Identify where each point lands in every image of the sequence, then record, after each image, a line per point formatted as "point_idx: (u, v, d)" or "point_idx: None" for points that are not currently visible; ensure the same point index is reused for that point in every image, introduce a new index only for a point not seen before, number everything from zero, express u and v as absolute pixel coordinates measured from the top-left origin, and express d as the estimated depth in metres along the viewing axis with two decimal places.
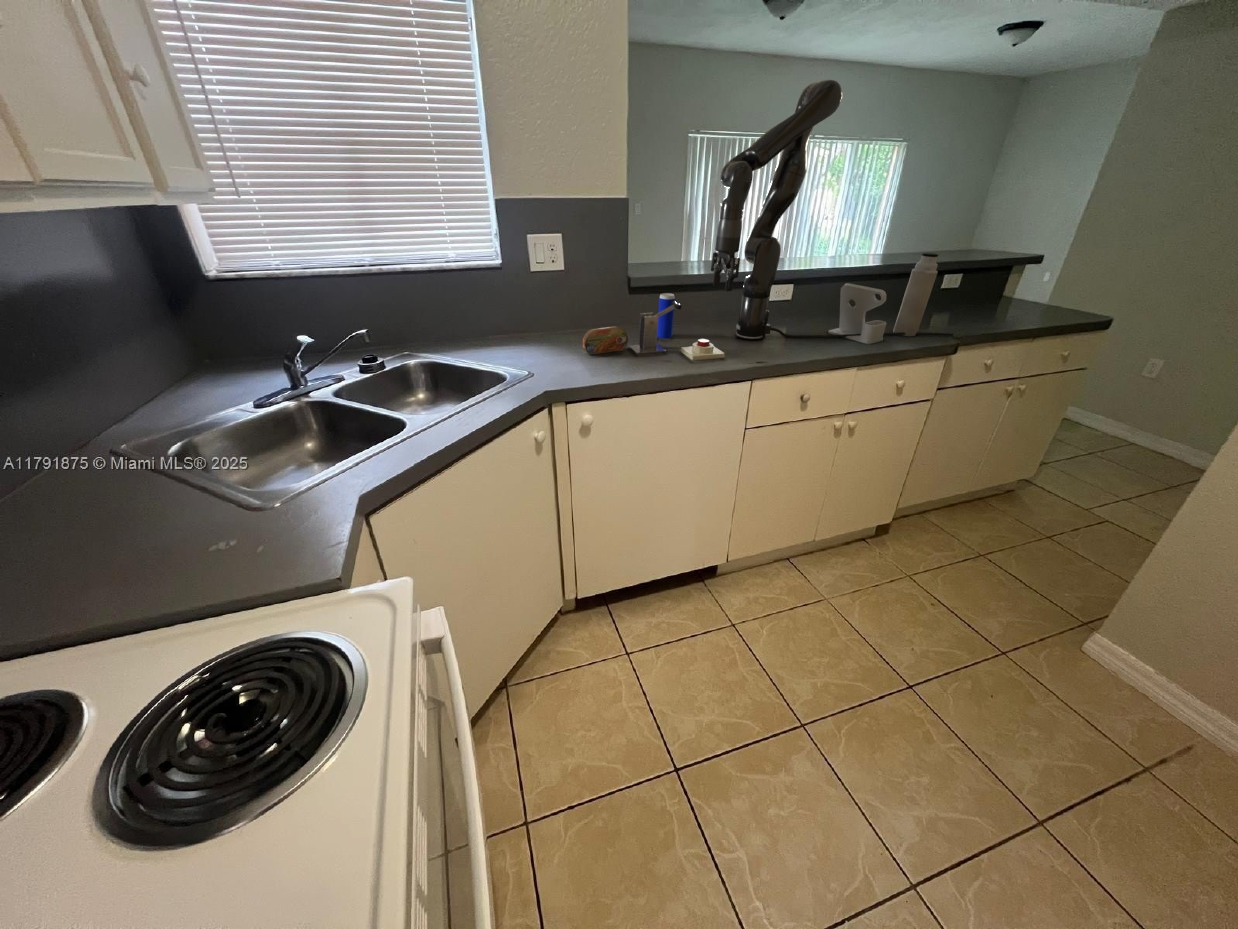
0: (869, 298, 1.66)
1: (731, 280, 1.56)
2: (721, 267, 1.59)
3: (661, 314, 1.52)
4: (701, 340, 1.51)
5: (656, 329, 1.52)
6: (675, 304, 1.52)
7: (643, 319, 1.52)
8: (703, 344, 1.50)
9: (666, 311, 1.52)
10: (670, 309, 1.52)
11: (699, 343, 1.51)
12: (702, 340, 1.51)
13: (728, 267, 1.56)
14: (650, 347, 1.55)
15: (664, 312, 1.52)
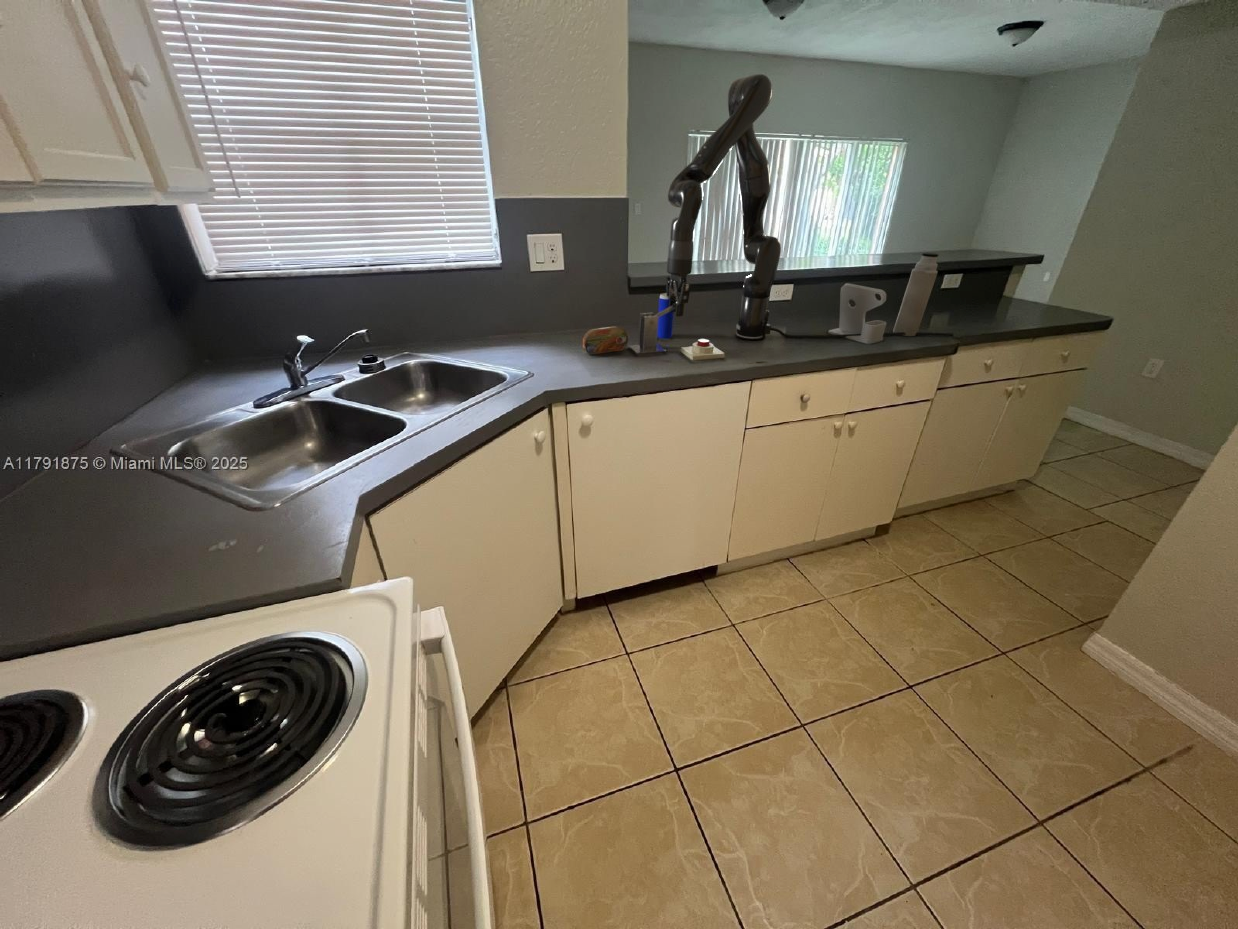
0: (869, 298, 1.66)
1: (681, 305, 1.49)
2: (674, 289, 1.50)
3: (661, 314, 1.52)
4: (701, 340, 1.51)
5: (656, 329, 1.52)
6: (675, 304, 1.52)
7: (643, 319, 1.52)
8: (703, 344, 1.50)
9: (666, 311, 1.52)
10: (670, 309, 1.52)
11: (699, 343, 1.51)
12: (702, 340, 1.51)
13: (680, 290, 1.48)
14: (650, 347, 1.55)
15: (664, 312, 1.52)
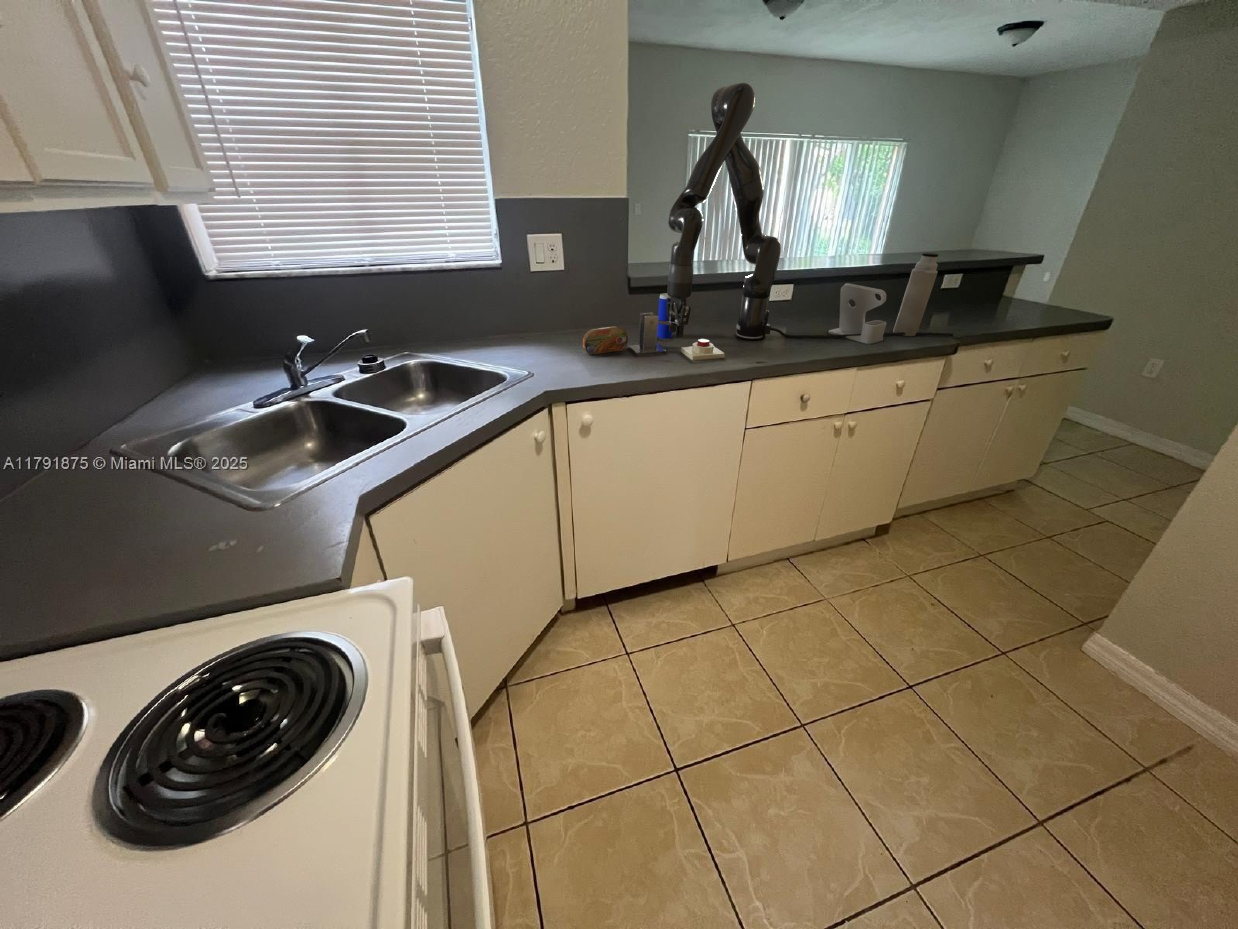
0: (869, 298, 1.66)
1: (681, 327, 1.53)
2: (674, 311, 1.54)
3: (661, 322, 1.54)
4: (701, 340, 1.51)
5: (656, 329, 1.52)
6: None
7: None
8: (703, 344, 1.50)
9: (667, 323, 1.54)
10: (671, 323, 1.55)
11: (699, 343, 1.51)
12: (702, 340, 1.51)
13: (680, 312, 1.52)
14: (650, 347, 1.55)
15: (665, 322, 1.54)
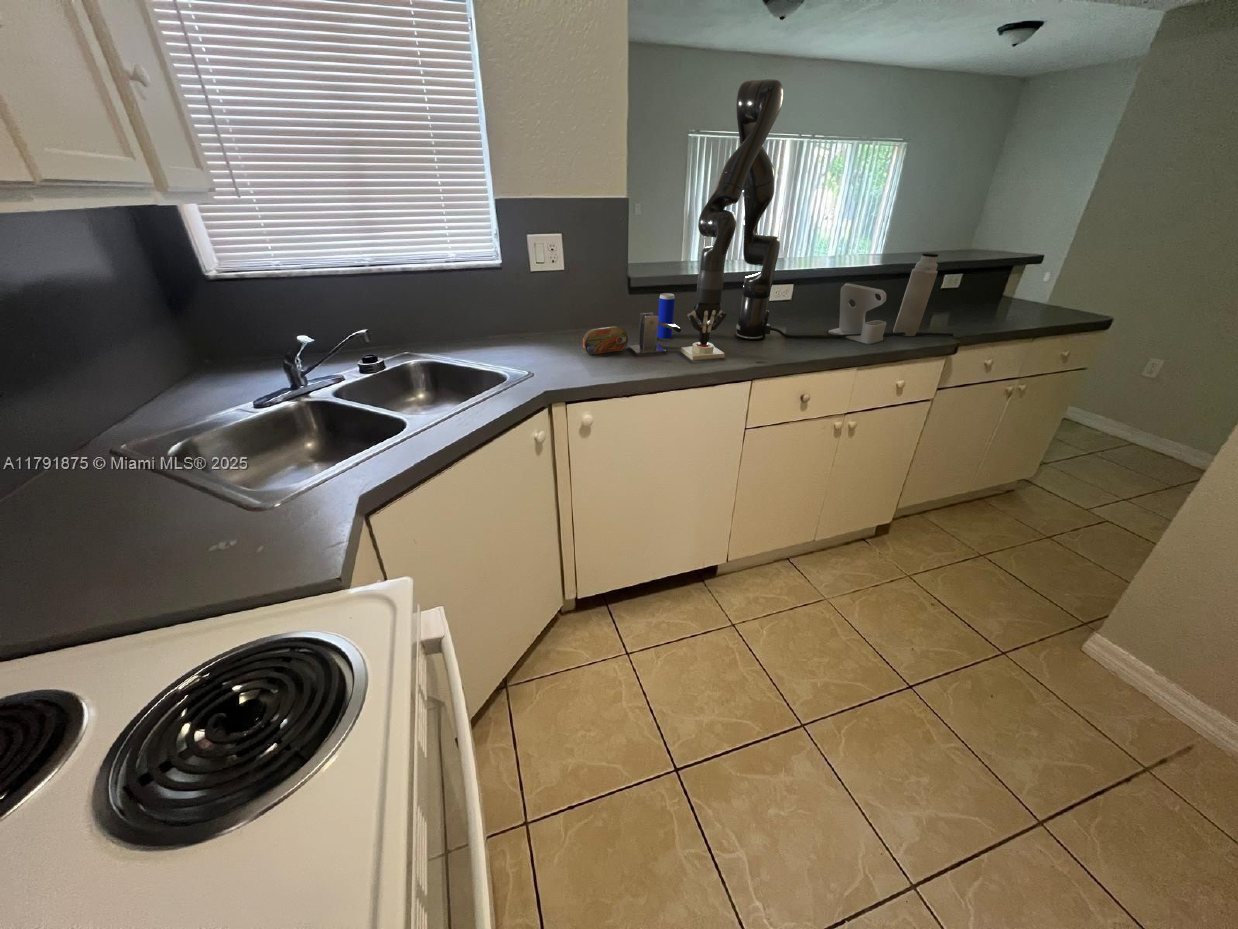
0: (869, 298, 1.66)
1: (700, 333, 1.50)
2: None
3: (661, 324, 1.54)
4: None
5: (656, 329, 1.52)
6: (676, 326, 1.56)
7: (645, 315, 1.52)
8: None
9: (666, 325, 1.55)
10: (670, 326, 1.55)
11: None
12: None
13: (698, 317, 1.47)
14: (650, 347, 1.55)
15: (664, 325, 1.54)
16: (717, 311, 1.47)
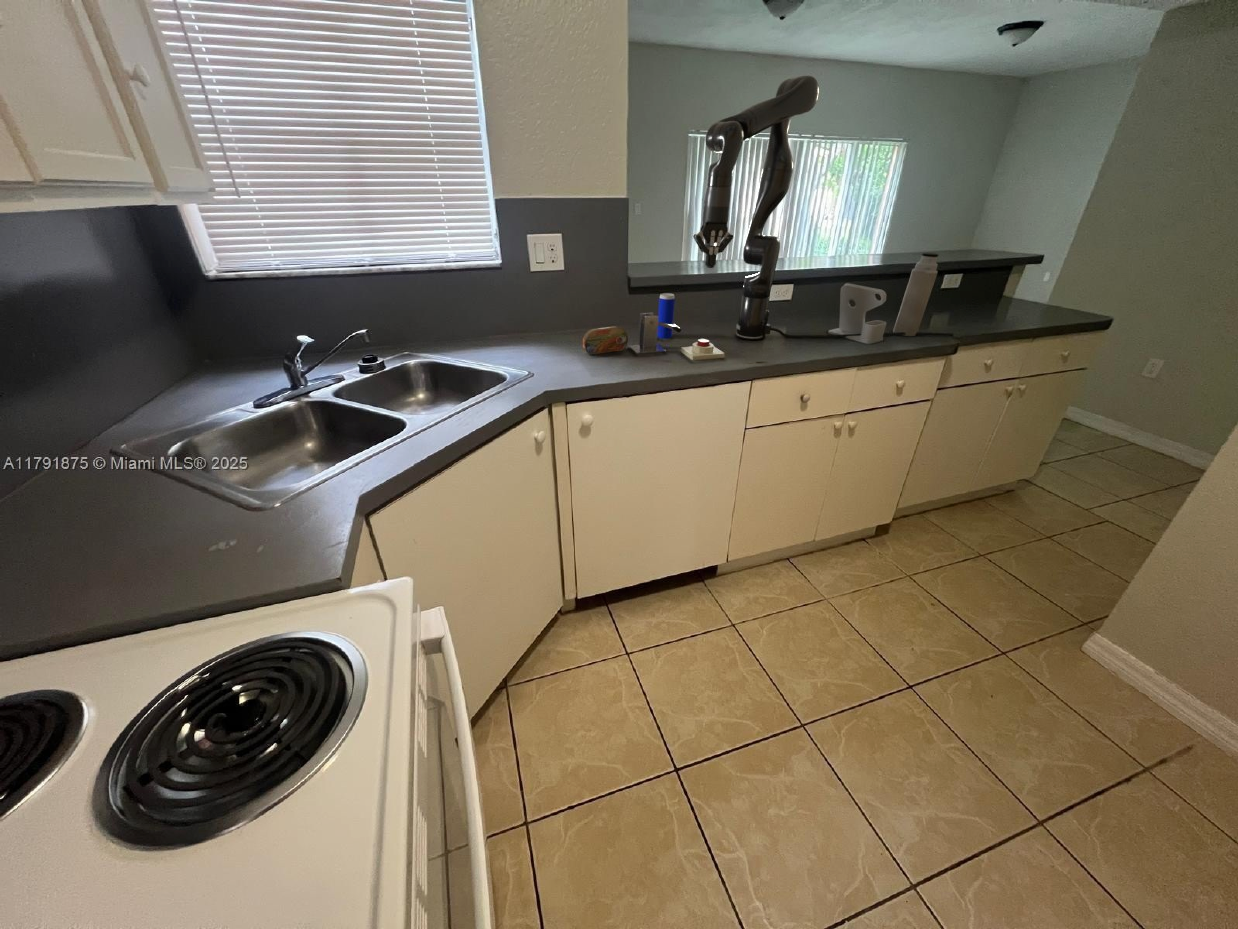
0: (869, 298, 1.66)
1: (707, 255, 1.49)
2: None
3: (661, 324, 1.54)
4: (701, 340, 1.51)
5: (656, 329, 1.52)
6: (676, 326, 1.56)
7: (645, 315, 1.52)
8: (703, 344, 1.50)
9: (666, 325, 1.55)
10: (670, 326, 1.55)
11: (699, 343, 1.51)
12: (702, 340, 1.51)
13: (705, 239, 1.46)
14: (650, 347, 1.55)
15: (664, 325, 1.54)
16: (724, 232, 1.46)
